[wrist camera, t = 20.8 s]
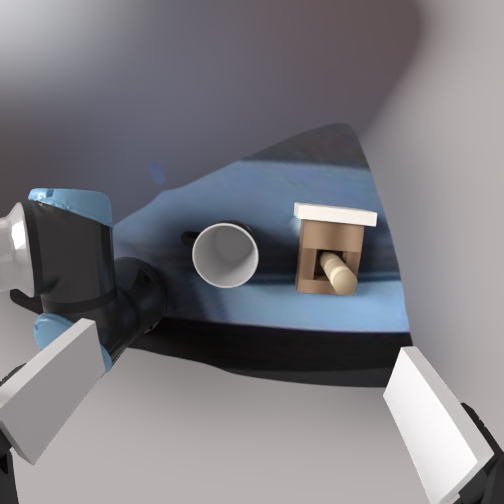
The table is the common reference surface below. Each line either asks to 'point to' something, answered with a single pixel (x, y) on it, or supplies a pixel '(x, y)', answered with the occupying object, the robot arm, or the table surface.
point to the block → (330, 238)
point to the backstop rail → (334, 214)
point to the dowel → (337, 272)
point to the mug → (224, 253)
